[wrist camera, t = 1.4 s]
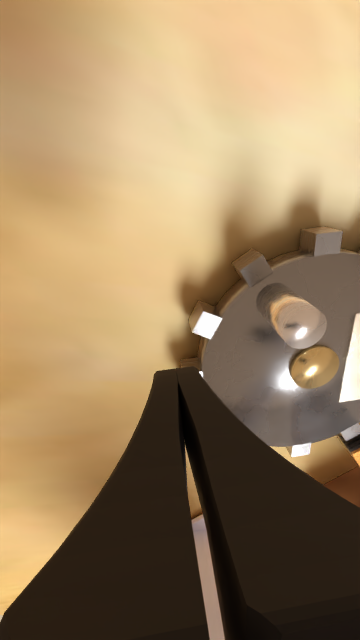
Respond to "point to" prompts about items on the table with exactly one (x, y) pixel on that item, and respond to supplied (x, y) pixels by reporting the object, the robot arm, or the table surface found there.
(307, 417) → the sprocket disc
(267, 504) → the robot arm
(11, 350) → the table surface
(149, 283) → the table surface
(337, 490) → the link block
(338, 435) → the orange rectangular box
